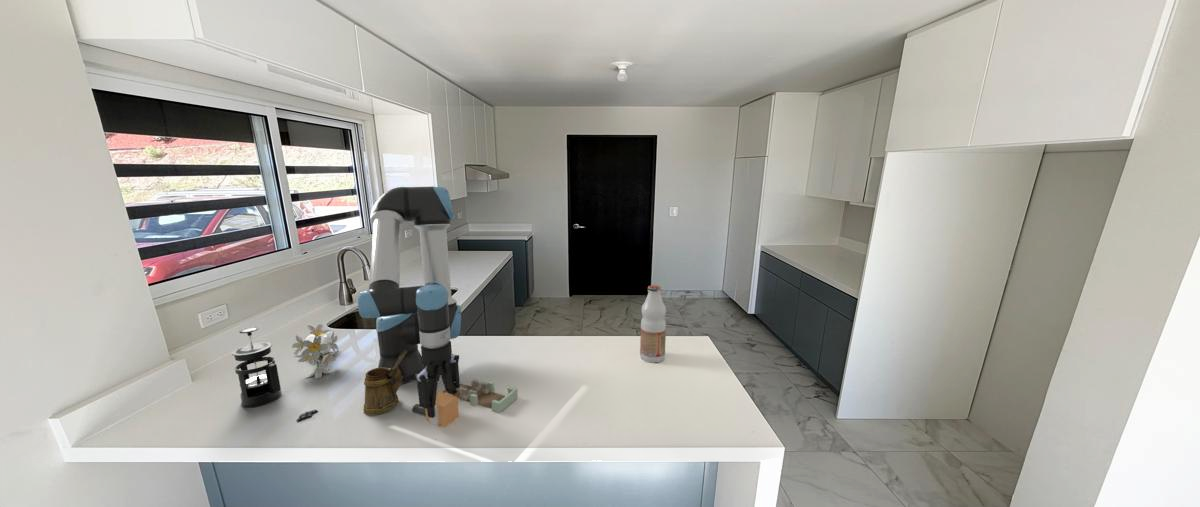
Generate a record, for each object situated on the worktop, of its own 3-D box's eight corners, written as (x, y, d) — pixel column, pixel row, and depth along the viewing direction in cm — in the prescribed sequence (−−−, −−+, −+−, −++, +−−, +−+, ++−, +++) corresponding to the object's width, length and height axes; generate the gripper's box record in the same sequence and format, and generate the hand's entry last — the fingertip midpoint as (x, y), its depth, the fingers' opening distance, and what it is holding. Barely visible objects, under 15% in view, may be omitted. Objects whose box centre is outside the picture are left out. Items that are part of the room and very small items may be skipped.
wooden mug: (405, 414, 109) (399, 356, 106) (357, 416, 108) (349, 358, 105) (418, 396, 118) (412, 343, 114) (373, 398, 117) (366, 344, 114)
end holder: (470, 404, 112) (469, 395, 112) (489, 389, 120) (489, 381, 119) (499, 413, 108) (499, 403, 107) (517, 397, 116) (517, 388, 115)
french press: (230, 406, 113) (215, 334, 108) (262, 389, 122) (249, 322, 118) (264, 409, 111) (250, 336, 107) (294, 392, 120) (282, 324, 116)
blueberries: (329, 413, 111) (329, 407, 111) (302, 428, 103) (302, 421, 103) (311, 410, 113) (310, 404, 112) (283, 424, 105) (282, 418, 105)
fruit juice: (644, 364, 138) (646, 291, 133) (636, 353, 147) (638, 284, 142) (668, 361, 140) (671, 289, 135) (659, 350, 149) (661, 282, 144)
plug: (408, 416, 108) (406, 394, 106) (423, 407, 112) (420, 385, 111) (445, 429, 102) (443, 406, 101) (459, 419, 107) (457, 396, 105)
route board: (440, 396, 118) (438, 383, 117) (456, 385, 124) (455, 373, 124) (502, 414, 109) (501, 401, 108) (516, 402, 115) (516, 389, 114)
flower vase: (309, 373, 146) (302, 385, 125) (292, 328, 144) (282, 334, 123) (348, 358, 153) (347, 367, 132) (332, 315, 151) (329, 318, 130)
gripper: (418, 359, 92) (427, 443, 96) (470, 332, 108) (475, 406, 112) (396, 353, 95) (406, 435, 99) (450, 328, 111) (456, 400, 115)
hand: (442, 419), depth 106 cm, fingers closed on plug, 5 cm apart
